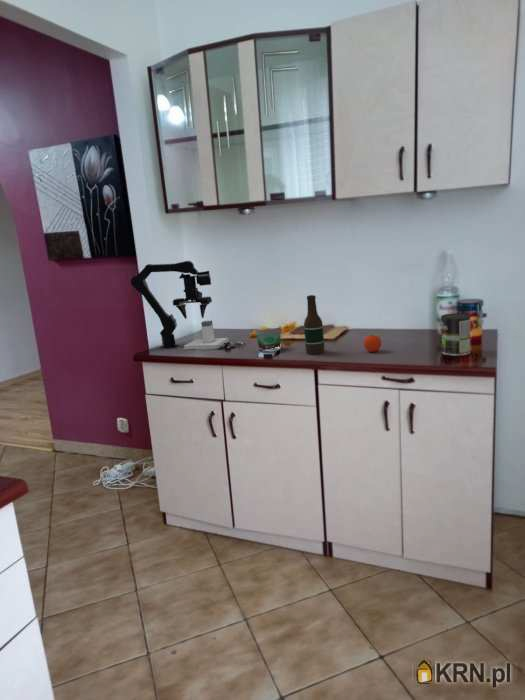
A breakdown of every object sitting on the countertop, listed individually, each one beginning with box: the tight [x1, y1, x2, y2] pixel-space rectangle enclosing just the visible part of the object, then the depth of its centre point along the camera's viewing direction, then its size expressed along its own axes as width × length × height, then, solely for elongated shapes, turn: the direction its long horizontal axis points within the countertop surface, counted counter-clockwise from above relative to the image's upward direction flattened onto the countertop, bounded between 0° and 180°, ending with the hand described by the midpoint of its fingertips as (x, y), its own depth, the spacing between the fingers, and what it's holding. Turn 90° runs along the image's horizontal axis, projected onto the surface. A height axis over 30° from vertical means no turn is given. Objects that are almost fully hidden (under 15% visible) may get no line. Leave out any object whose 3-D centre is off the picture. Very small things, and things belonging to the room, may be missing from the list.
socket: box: [183, 337, 230, 350], centre depth 254 cm, size 17×15×2 cm
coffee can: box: [440, 313, 471, 357], centre depth 196 cm, size 10×10×14 cm
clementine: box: [363, 334, 382, 353], centre depth 211 cm, size 8×7×7 cm
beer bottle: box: [303, 294, 325, 356], centre depth 216 cm, size 8×8×24 cm
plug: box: [200, 320, 215, 343], centre depth 253 cm, size 4×4×12 cm
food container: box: [254, 326, 283, 352], centre depth 229 cm, size 12×6×10 cm, turn 105°
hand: (194, 318), depth 259 cm, fingers open, 9 cm apart
